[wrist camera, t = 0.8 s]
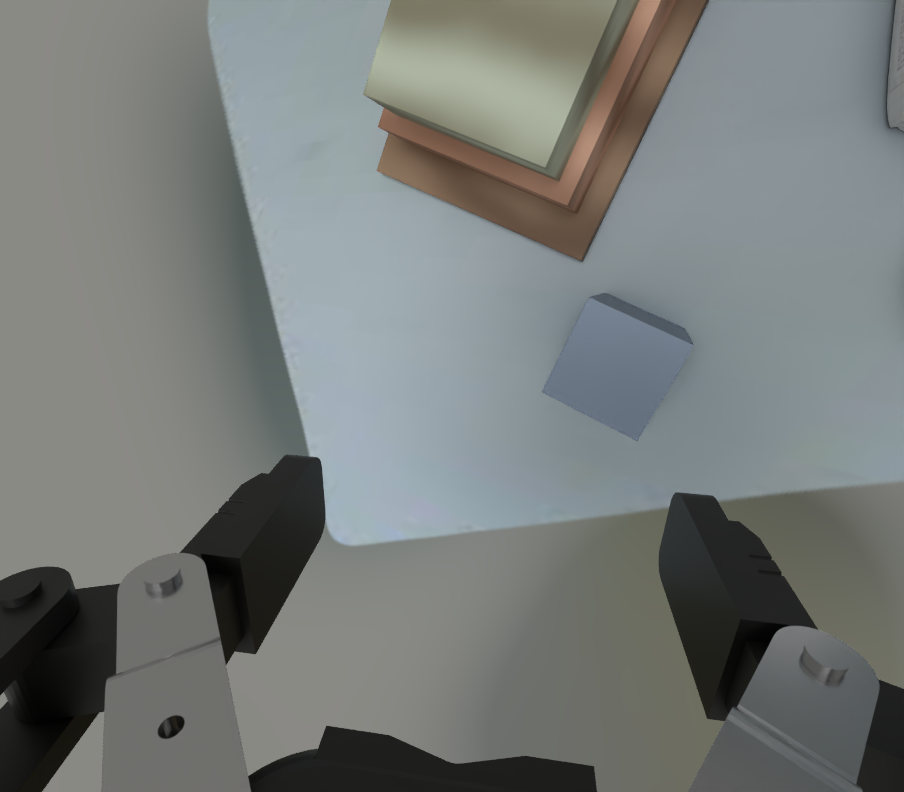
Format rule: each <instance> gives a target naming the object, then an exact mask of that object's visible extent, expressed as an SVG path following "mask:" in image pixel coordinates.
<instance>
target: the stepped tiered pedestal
mask: <svg viewBox="0 0 904 792" xmlns="http://www.w3.org/2000/svg"><path fill="white" fill-rule="evenodd" d="M708 1H709V0H391V3H390V6H389V9H388V13H387V16H386V19H385V23H384V26H383V29H382V33H381V36H380V40H379V43H378V46H377V50H376V53H375V56H374V60H373V63H372V66H371V70H370V73H369V76H368V80H367V83H366V87H365V90H364V93H363V95H365V96H367V97H368V98H370V99H371V100H373V101H375V102H376V103H378V104H379V105H381V106H383V107H384V109H383V113H382V116H381V119H380V122H379V125H378V127H379V128H381V129H383V130H385V131H387V132H388V133H389V134H388V137H387V140H386V143H385V147H384V150H383V153H382V156H381V159H380V162H379V165H378V168H377V171H378V172H381V173H383V174H385V175H387V176H390V177H392V178H394V179H397V180H399V181H401V182H403V183H406V184H408V185H410V186H412V187H415V188H417V189H419V190H421V191H424V192H426V193H428V194H431V195H433V196H435V197H437V198H440V199H442V200H444V201H446V202H449V203H451V204H453V205H455V206H458V207H460V208H462V209H464V210H467V211H469V212H471V213H474V214H476V215H478V216H480V217H483V218H485V219H487V220H489V221H492V222H494V223H496V224H498V225H501V226H503V227H505V228H508V229H510V230H512V231H514V232H517V233H519V234H521V235H523V236H526V237H528V238H530V239H532V240H535V241H537V242H539V243H542V244H544V245H546V246H548V247H551V248H553V249H555V250H557V251H560V252H562V253H564V254H566V255H569V256H571V257H573V258H576V259H578V260H580V261H583V260H584V257H585V255H586V253H587V251H588V249H589V247H590V245H591V243H592V241H593V239H594V237H595V235H596V233H597V231H598V229H599V226H600V224H601V222H602V220H603V218H604V216H605V214H606V212H607V210H608V208H609V206H610V204H611V202H612V200H613V198H614V195H615V193H616V191H617V189H618V187H619V185H620V183H621V181H622V179H623V177H624V175H625V173H626V171H627V169H628V167H629V164H630V162H631V160H632V158H633V156H634V154H635V152H636V150H637V148H638V146H639V144H640V142H641V140H642V138H643V136H644V133H645V131H646V129H647V127H648V125H649V123H650V121H651V119H652V117H653V115H654V113H655V111H656V109H657V107H658V105H659V102H660V100H661V98H662V96H663V94H664V92H665V90H666V88H667V86H668V84H669V82H670V80H671V78H672V76H673V73H674V71H675V69H676V67H677V65H678V63H679V61H680V59H681V57H682V55H683V53H684V51H685V49H686V47H687V45H688V42H689V40H690V38H691V36H692V34H693V32H694V30H695V28H696V26H697V24H698V22H699V20H700V18H701V16H702V14H703V11H704V9H705V7H706V5H707V3H708Z"/></svg>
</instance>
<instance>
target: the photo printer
mask: <svg viewBox="0 0 904 792" xmlns="http://www.w3.org/2000/svg"><path fill="white" fill-rule="evenodd" d="M887 113H888V122H889V126H890V127H891V128H892V127H898V128H899V129H900V130H902V131H904V0H896V6H895V15H894V25H893V34H892V44H891V55H890V66H889V75H888V94H887Z"/></svg>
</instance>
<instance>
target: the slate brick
mask: <svg viewBox="0 0 904 792" xmlns="http://www.w3.org/2000/svg"><path fill="white" fill-rule="evenodd" d="M693 347H694V344H693V342H692V341H691V339H690V337H689V335H688V334H687V332H686V330H685V329H684V328H682V327H679V326H677V325H675V324H673V323H671V322H668V321H666V320H664V319H662V318H659V317H657V316H655V315H653V314H651V313H648V312H646V311H644V310H642V309H640V308H637V307H635V306H633V305H631V304H628V303H626V302H624V301H622V300H620V299H617V298H615V297H613V296H611V295H609V294H606V293H603V294H600V295H596V296H592V297H589V298H588V300H587V302H586V304H585V306H584V308H583V310H582V312H581V314H580V316H579V318H578V320H577V322H576V324H575V326H574V328H573V330H572V332H571V334H570V336H569V338H568V340H567V342H566V344H565V346H564V348H563V350H562V352H561V354H560V356H559V358H558V360H557V362H556V364H555V366H554V368H553V370H552V372H551V374H550V376H549V378H548V380H547V382H546V384H545V386H544V388H543V390H542V392H543V393H545V394H547V395H549V396H551V397H553V398H555V399H557V400H559V401H561V402H562V403H564V404H566V405H568V406H570V407H572V408H574V409H576V410H578V411H580V412H582V413H584V414H586V415H588V416H590V417H592V418H593V419H595V420H597V421H599V422H601V423H603V424H605V425H607V426H609V427H611V428H613V429H615V430H617V431H619V432H621V433H623V434H625V435H626V436H628V437H630V438H632V439H634V440H636V441H638V439H639V437H640V436H641V434H642V432H643V431H644V429H645V427H646V426H647V424H648V422H649V421H650V419H651V417H652V416H653V414H654V412H655V410H656V409H657V407H658V405H659V404H660V402H661V400H662V399H663V397H664V395H665V394H666V392H667V390H668V389H669V387H670V385H671V384H672V382H673V380H674V379H675V377H676V375H677V374H678V372H679V370H680V369H681V367H682V365H683V363H684V362H685V360H686V358H687V357H688V355H689V353H690V352H691V350H692V348H693Z"/></svg>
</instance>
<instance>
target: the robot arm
mask: <svg viewBox="0 0 904 792" xmlns="http://www.w3.org/2000/svg"><path fill="white" fill-rule="evenodd" d="M324 525H325V501H324V488H323V476H322V465H321V461H320V459H319V458H317V457H308V456H298V455H285V456H284V457H283V458H282V459H281V460H280V461H279V463H278V464H277V465H276V466H275V467H274V468H273V470H272V471H271V472H270V473H269V474H263V473H261V474H259V475H257V476H256V477H254V478H252V479H250V480H249V481H247V482H245V483H244V484H242V485H241V486H240V487H239V488H238V489H237V490H236V491H235V493H234V494H233V495H232V496H231V497H230V498H229V501H226V503H225V504H224V505H223V506H222V507H221V508H220V509H219V511H218V513H216V514H215V515H214V516H213V517H212V518H211V519H210V520H209V521H208V522H207V523H206V525H205V526H204V527H203V528H202V529H201V530H200V531H199V532H198V533H197V535H196V536H195V537H194V538H193V539H192V540H191V541H190V542H189V543H188V544H187V546H185V548H184V549H183V550H182V551H181V552H180V553H174V554H167V555H163V556H159V557H156V558H153V559H151V560H149V561H147V562H145V563H143V564H141V565H139V566H138V567H136V568H135V569H133V570H132V571H131V572H130V573H129V574H128V575H127V576H126V577H125V578H124V579H123V580H122V582H121V583H120V584H115V585H106V586H98V587H89V588H82V589H75V587H74V584H73V581H72V578H71V576H70V574H69V572H68V571H66V570H65V569H62V568H59V567H39V568H34V569H29V570H25V571H22V572H19V573H16V574H13V575H11V576H9V577H7V578H5V579H3V580H1V581H0V695H1V694H2V693H3V692H4V693H5V695H6V697H7V700H8V702H7V703H6V704H5V705H4V706H3V707H2V708H1V709H0V792H42V791H43V789H44V788H45V787H46V785H47V784H48V783H49V781H50V780H51V778H52V777H53V776H54V774H55V773H56V771H57V770H58V769H59V767H60V766H61V765H62V763H63V762H64V760H65V759H66V757H67V756H68V755H69V753H70V752H71V751H72V749H73V748H74V747H75V745H76V744H77V742H78V741H79V740H80V738H81V737H82V736H83V734H84V733H85V731H86V730H87V728H88V727H89V726H90V724H91V723H92V722H93V720H94V719H95V717H96V716H97V715H98V713H99V712H104V738H103V766H102V792H597V789H596V781H595V772H594V766H588V765H582V764H575V763H568V762H561V761H555V760H549V759H541V758H536V757H529V756H521V757H513V758H505V759H496V760H488V761H480V762H471V763H463V764H454V763H450V762H447V761H445V760H443V759H441V758H439V757H436V756H434V755H432V754H430V753H427V752H425V751H423V750H421V749H419V748H416V747H414V746H411V745H409V744H407V743H405V742H403V741H401V740H399V739H396V738H394V737H392V736H389V735H383V734H377V733H371V732H364V731H357V730H350V729H344V728H337V727H331V726H326V729H325V731H324V734H323V737H322V739H321V742H320V745H319V748H318V749H313V750H307V751H303V752H299V753H296V754H292V755H289V756H286V757H284V758H281V759H279V760H276V761H274V762H272V763H270V764H268V765H266V766H264V767H262V768H261V769H259V770H257V771H256V772H254V773H253V774H251V775H249V776H248V774H247V768H246V763H245V758H244V753H243V748H242V743H241V738H240V733H239V728H238V723H237V718H236V714H235V709H234V704H233V698H232V693H231V688H230V683H229V678H228V673H227V669H226V664H227V663H228V661H229V660H230V658H231V656H232V655H233V653H234V652H235V651H236V652H243V653H251V654H256V653H257V651H258V649H259V647H260V646H261V643H262V642H263V640H264V638H265V637H266V635H267V633H268V631H269V630H270V628H271V626H272V624H273V622H274V621H275V619H276V617H277V615H278V614H279V612H280V610H281V608H282V606H283V605H284V603H285V601H286V599H287V597H288V595H289V594H290V592H291V590H292V589H293V587H294V585H295V583H296V581H297V580H298V578H299V576H300V574H301V572H302V571H303V569H304V567H305V565H306V563H307V562H308V560H309V558H310V556H311V555H312V553H313V551H314V549H315V547H316V546H317V544H318V542H319V540H320V538H321V535H322V533H323V529H324ZM659 573H660V577H661V581H662V584H663V587H664V590H665V593H666V596H667V599H668V602H669V605H670V608H671V611H672V614H673V617H674V620H675V623H676V626H677V629H678V632H679V635H680V638H681V641H682V644H683V647H684V650H685V653H686V656H687V659H688V662H689V665H690V668H691V671H692V674H693V677H694V680H695V683H696V686H697V689H698V692H699V695H700V698H701V701H702V704H703V707H704V710H705V713H706V716H707V719H714V720H720V721H725V722H724V724H723V726H722V728H721V730H720V731H719V734H718V735H717V737H716V739H715V741H714V743H713V745H712V747H711V749H710V751H709V753H708V754H707V756H706V758H705V760H704V762H703V764H702V766H701V768H700V769H699V771H698V773H697V775H696V777H695V779H694V781H693V783H692V785H691V787H690V789H689V790H688V792H904V689H902V688H899V687H897V686H894V685H891V684H889V683H886V682H884V681H881V680H879V679H878V678H877V676H876V673H875V672H874V670H873V669H872V667H871V666H870V665H869V664H868V662H867V661H866V660H865V659H864V658H863V657H862V656H861V655H860V654H859V653H858V652H857V651H855V650H854V649H853V648H851V647H850V646H848V645H847V644H846V643H844V642H843V641H841V640H839V639H837V638H836V637H834V636H832V635H830V634H827V633H825V632H823V631H820V630H818V629H817V627H816V626H815V624H814V622H813V621H812V619H811V618H810V616H809V615H808V613H807V611H806V610H805V608H804V607H803V605H802V604H801V602H800V601H799V599H798V598H797V596H796V594H795V593H794V591H793V590H792V588H791V587H790V585H789V583H788V582H787V580H786V579H785V577H784V576H781V571H780V569H779V568H778V566H777V565H776V563H775V562H774V561H772V560H771V555H770V554H769V552H768V551H767V549H766V547H765V546H764V544H763V543H762V541H761V540H760V538H759V537H757V536H756V535H755V534H754V533H753V532H751V531H750V530H749V529H748V528H746V527H745V526H744V525H743V524H741V523H740V522H738V521H729V520H728V519H727V517H726V515H725V514H724V512H723V510H722V509H721V507H720V505H719V503H718V502H717V500H716V498H715V497H714V496H710V495H699V494H689V493H678V492H677V493H675V494H674V495H673V497H672V500H671V503H670V508H669V512H668V516H667V521H666V525H665V529H664V533H663V538H662V542H661V546H660V551H659Z"/></svg>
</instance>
